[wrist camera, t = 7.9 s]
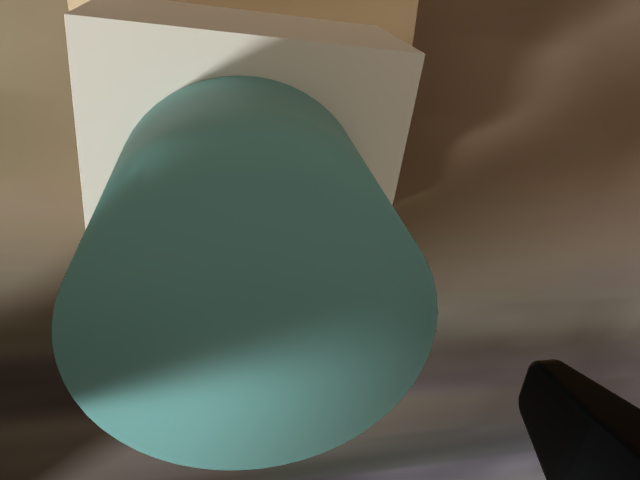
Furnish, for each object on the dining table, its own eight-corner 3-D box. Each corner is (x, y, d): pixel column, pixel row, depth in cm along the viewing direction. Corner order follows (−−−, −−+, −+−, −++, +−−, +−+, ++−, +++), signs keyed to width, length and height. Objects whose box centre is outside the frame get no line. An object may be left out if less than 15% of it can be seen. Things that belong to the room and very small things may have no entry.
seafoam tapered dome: (287, 325, 14) (317, 497, 10) (77, 246, 12) (-3, 421, 8) (407, 152, 12) (510, 272, 8) (181, 21, 10) (150, 85, 6)
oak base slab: (357, 213, 22) (382, 265, 18) (131, 219, 20) (113, 276, 17) (381, -29, 17) (421, -19, 14) (94, -45, 16) (60, -39, 12)
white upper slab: (339, 245, 18) (367, 319, 14) (120, 239, 16) (94, 319, 13) (376, 25, 14) (425, 54, 11) (105, -7, 13) (63, 14, 10)
